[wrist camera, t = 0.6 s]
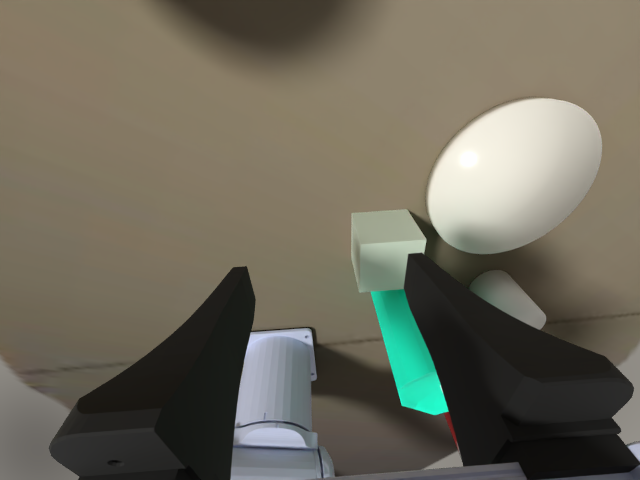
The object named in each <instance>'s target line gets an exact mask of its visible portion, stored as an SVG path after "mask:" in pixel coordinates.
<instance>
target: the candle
mask: <svg viewBox="0 0 640 480" xmlns="http://www.w3.org/2000/svg"><path fill="white" fill-rule="evenodd" d="M371 295H372V299H373V302H374V306H375V310H376V313H377V317H378V321H379V324H380V328H381V332H382V335H383V339H384V343H385V346H386V350H387V354H388V357H389V361H390V364H391V368H392V372H393V375H394V379H395V383H396V386H397V390H398V394H399V397H400V401H401V405H402V406H405V407H408V408H412V409H416V410H419V411H422V412H426V413H429V414H433V415H437V414H441V413H445V412H449V411H448V407H447V404H446V401H445V398H444V394H443V391H442V388H441V385H440V381H439V378H438V375H437V372H436V369H435V366H434V363H433V360H432V358H431V355H430V353H429V351H428V348H427V346H426V344H425V342H424V339H423V337H422V335H421V333H420V330H419V328H418V326H417V324H416V322H415V319H414V317H413V315H412V312H411V310H410V308H409V305H408V301H407V298H406V294H405V291H404V289H399V290H385V291H372V292H371Z"/></svg>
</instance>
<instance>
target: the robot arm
mask: <svg viewBox="0 0 640 480" xmlns="http://www.w3.org/2000/svg"><path fill="white" fill-rule="evenodd" d="M404 291H405V294H406V298H407V301H408V305H409V308H410V310H411V312H412V315H413V317H414V319H415V322H416V324H417V326H418V328H419V330H420V333H421V335H422V337H423V339H424V342H425V344H426V346H427V348H428V351H429V353H430V355H431V358H432V360H433V363H434V366H435V369H436V372H437V375H438V378H439V381H440V385H441V388H442V391H443V394H444V398H445V401H446V404H447V407H448V411H449V414H450V418H451V421H452V425H453V428H454V432H455V435H456V439H457V443H458V447H459V451H460V455H461V459H462V462H463V466H464V467H452V468H439V469H427V470H415V471H402V472H390V473H377V474H365V475H352V476H340V477H335V474H334V467H333V463H332V460H331V457H330V456H329V454H328V453H327V451H326V449H325V447H324V446H318V442H317V433H315V432H312V409H311V381H315V380H316V379H317V374H316V365H315V356H314V347H313V338H312V330H311V329H309V328H302V329H288V330H275V331H261V332H251V329H252V325H253V320H254V311H255V300H256V299H255V295H254V292H253V288H252V284H251V280H250V277H249V273H248V269H247V266H245V267H233V268H232V269H231V271H230V272H229V273H228V274H227V275H226V277H225V278H224V279H223V280H222V282H221V283H220V284H219V285H218V286H217V288H216V289H215V290H214V291H213V292H212V294H211V295H210V296H209V297H208V298H207V299H206V301H205V302H204V303H203V304H202V305H201V306H200V307H199V308H198V309H197V310H196V312H195V313H194V314H193V315H192V316H191V317H190V318H189V319H188V320H187V321H186V322H185V323H184V324H183V325H182V326H181V327H179V328H178V329H177V330H176V331H175V332H174V333H173V334H172V335H171V336H169V337H168V338H167V339H166V340H165V341H163V342H162V343H161V344H160V345H158V346H157V347H156V348H155V349H153V350H152V351H151V352H150V353H148V354H147V355H146V356H144V357H143V358H142V359H140V360H139V361H138V362H136V363H135V364H133V365H132V366H130V367H129V368H128V369H126V370H125V371H123V372H122V373H120V374H119V375H117V376H116V377H114V378H113V379H111V380H109V381H108V382H106V383H105V384H103V385H101V386H100V387H98V388H96V389H95V390H93V391H92V392H90V393H88V394H87V395H85V396H83V397H82V398H80V399H79V400H78V402H77V403H76V405H75V406H74V408H73V409H72V411H71V412H70V414H69V416H68V417H67V418H66V420H65V422H64V423H63V425H62V426H61V428H60V429H59V431H58V432H57V434H56V435H55V437H54V439H53V440H52V442H51V443H50V446H49V450H50V453H51V456H52V457H53V458H54V459H55V460H56V461H58V462H59V463H60V464H62V465H63V466H65V467H66V468H68V469H69V470H71V471H72V472H74V473H75V474H77V475H78V476H79V479H78V480H640V441H638V442H633V443H630V444H627V445H625V444H624V442H623V441H622V440H621V439H620V437H619V436H618V435H617V434H619V433H620V432H621V429H620V427H619V426H618V425H617V424H616V422H615V421H614V420H613V419H612V418H611V417H613V416H614V415H615V414H616V413H617V412H618V411H619V410H620V409H621V408H622V407H623V406H624V405H625V404H626V403H627V402H628V401H629V400H630V399H631V397H632V394H633V391H634V387H633V385H632V383H631V382H630V381H629V380H628V379H627V378H626V377H625V376H624V375H623V374H622V373H621V372H620V371H619V370H618V369H617V368H616V367H615V366H614V365H613V364H612V363H611V362H610V361H609V360H608V359H607V358H606V357H605V356H602V355H600V354H597V353H595V352H592V351H589V350H587V349H584V348H581V347H579V346H576V345H573V344H571V343H568V342H566V341H563V340H561V339H559V338H557V337H554V336H552V335H550V334H547V333H545V332H543V331H541V330H539V329H536V328H534V327H532V326H530V325H528V324H526V323H524V322H522V321H520V320H518V319H517V318H515V317H513V316H511V315H509V314H507V313H505V312H504V311H502V310H500V309H498V308H497V307H495V306H493V305H492V304H490V303H488V302H487V301H485V300H484V299H482V298H481V297H479V296H478V295H476V294H475V293H473V292H472V291H470V290H469V289H467V288H466V287H465V286H463V285H462V284H461V283H459V282H458V281H457V280H455V279H454V278H453V277H451V276H450V275H449V274H448V273H446V272H445V271H444V270H443V269H441V268H440V267H439V266H438V265H437V264H435V263H434V262H433V261H432V260H430V259H429V258H428V257H427V256H426V255H424V254H423V253H411V254H408V259H407V266H406V274H405V281H404ZM307 335H308V336H307ZM243 363H244V367H243ZM242 368H243V373H242ZM241 373H242V378H241ZM240 379H241V383H240ZM239 387H240V388H239Z"/></svg>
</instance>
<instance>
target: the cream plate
mask: <svg viewBox="0 0 640 480" xmlns="http://www.w3.org/2000/svg"><path fill="white" fill-rule="evenodd" d="M601 155H602V140H601V134H600V131H599V129H598V126H597V124H596V122H595V121H594V119H593V118H592V117H591V116H590V115H589V114H588V113H587V112H586V111H585V110H584V109H582V108H580V107H579V106H577V105H575V104H572V103H569V102H567V101H562V100H557V99H551V98H545V97H526V98H519V99H515V100H511V101H508V102H505V103H502V104H500V105H497V106H495V107H493V108H491V109H489V110H487V111H485V112H483V113H481V114H480V115H479V116H477V117H476V118H474V119H473V120H471V121H470V122H469V123H467V124H466V125H465V126H464V127H463V128H461V129H460V130H459V131H458V132H457V133H456V134H455V135H454V136H453V137H452V138H451V140H450V141H449V142H448V143H447V145H446V146H445V147H444V148H443V150H442V151H441V153H440V154H439V156H438V158H437V159H436V161H435V163H434V165H433V167H432V169H431V172H430V175H429V178H428V181H427V186H426V192H425V206H426V211H427V215H428V217H429V220H430V222H431V223H432V225H433V227H434V228H435V229H436V231H437V232H438V234H439V235H440V236H441V237H442V238H443V239H444V241H446V242H447V243H448V244H449V245H451V246H453V247H455V248H456V249H459V250H461V251H464V252H468V253H474V254H494V253H501V252H505V251H510V250H513V249H516V248H519V247H521V246H524V245H526V244H528V243H530V242H532V241H534V240H536V239H538V238H540V237H542V236H543V235H545V234H546V233H548V232H549V231H551V230H552V229H553V228H555V227H556V226H557V225H559V224H560V223H561V222H562V221H563V220H565V219H566V218H567V217H568V216H569V215H570V214H571V213H572V212H573V211H574V209H575V208H576V207H577V206H578V205H579V203H580V202H581V201H582V199H583V198H584V197H585V195H586V194H587V192H588V191H589V189H590V187H591V185H592V184H593V181H594V179H595V177H596V175H597V172H598V169H599V165H600V161H601Z"/></svg>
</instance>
